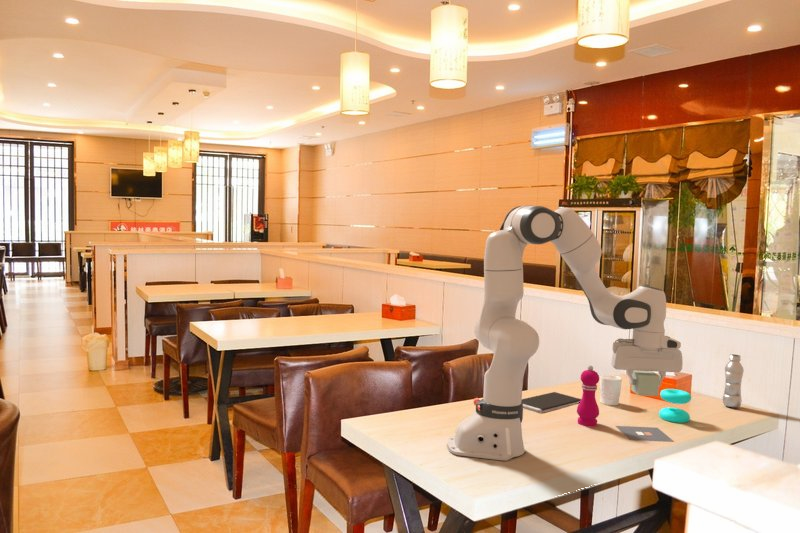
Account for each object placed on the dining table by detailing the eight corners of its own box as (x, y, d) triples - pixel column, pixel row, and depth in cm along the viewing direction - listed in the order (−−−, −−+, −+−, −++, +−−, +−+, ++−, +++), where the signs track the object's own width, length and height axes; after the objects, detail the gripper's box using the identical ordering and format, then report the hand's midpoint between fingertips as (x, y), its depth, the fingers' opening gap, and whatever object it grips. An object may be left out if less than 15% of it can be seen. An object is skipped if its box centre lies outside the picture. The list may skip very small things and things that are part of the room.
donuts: (695, 392, 217) (685, 397, 210) (693, 420, 217) (683, 426, 210) (666, 386, 224) (656, 391, 216) (664, 413, 224) (654, 419, 217)
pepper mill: (599, 428, 204) (603, 368, 203) (576, 426, 205) (580, 366, 204) (597, 422, 211) (600, 364, 210) (575, 420, 212) (578, 362, 211)
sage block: (638, 395, 184) (639, 375, 184) (631, 389, 190) (632, 370, 190) (658, 396, 184) (659, 376, 183) (650, 390, 190) (652, 371, 189)
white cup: (623, 406, 232) (624, 380, 231) (602, 405, 232) (603, 379, 231) (616, 400, 239) (617, 375, 239) (595, 399, 239) (597, 374, 239)
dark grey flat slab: (583, 403, 236) (583, 399, 236) (540, 414, 219) (540, 409, 219) (554, 395, 246) (554, 391, 246) (510, 405, 229) (510, 401, 229)
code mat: (629, 440, 193) (629, 439, 193) (615, 426, 207) (615, 425, 207) (674, 442, 192) (674, 441, 192) (657, 428, 206) (657, 427, 206)
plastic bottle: (741, 406, 237) (745, 355, 236) (740, 410, 232) (744, 357, 231) (722, 403, 241) (726, 352, 240) (721, 407, 235) (724, 355, 234)
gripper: (616, 340, 183) (613, 386, 184) (686, 343, 183) (683, 389, 183) (610, 336, 189) (607, 380, 190) (677, 339, 189) (674, 384, 190)
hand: (645, 385), depth 187 cm, fingers closed on sage block, 6 cm apart
